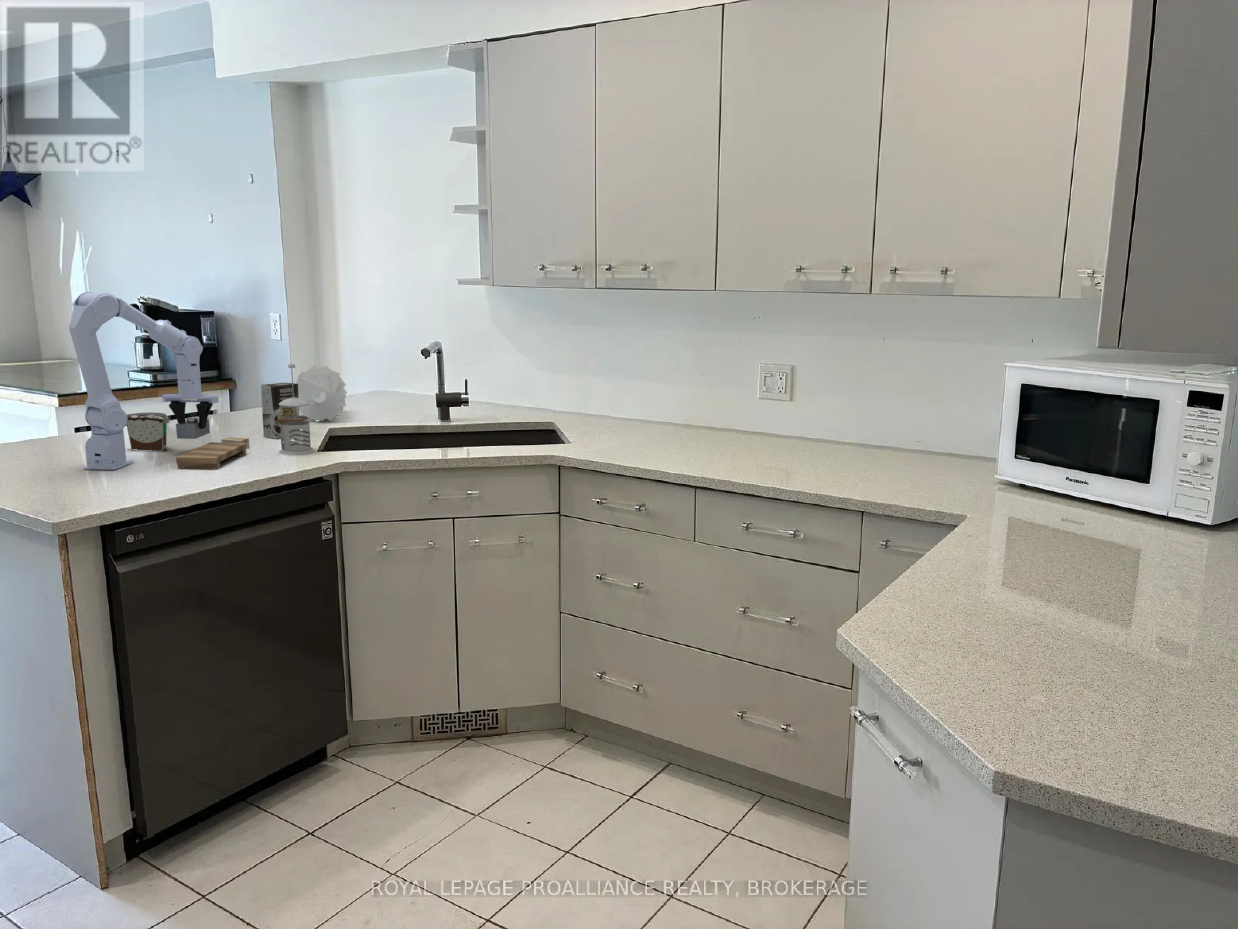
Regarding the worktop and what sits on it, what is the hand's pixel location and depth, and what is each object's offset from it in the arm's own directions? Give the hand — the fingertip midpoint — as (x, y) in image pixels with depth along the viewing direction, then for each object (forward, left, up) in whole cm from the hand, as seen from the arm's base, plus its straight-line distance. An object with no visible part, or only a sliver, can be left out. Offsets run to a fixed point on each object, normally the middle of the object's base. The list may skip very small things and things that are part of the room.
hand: (192, 428), depth 250 cm
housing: (0, 0, -2) cm, 2 cm away
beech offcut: (+6, -9, -7) cm, 13 cm away
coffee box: (+26, -15, -7) cm, 31 cm away
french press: (+3, -27, -7) cm, 28 cm away
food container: (+3, +13, -7) cm, 15 cm away
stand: (-11, -10, -7) cm, 16 cm away
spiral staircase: (+60, -16, -7) cm, 63 cm away
